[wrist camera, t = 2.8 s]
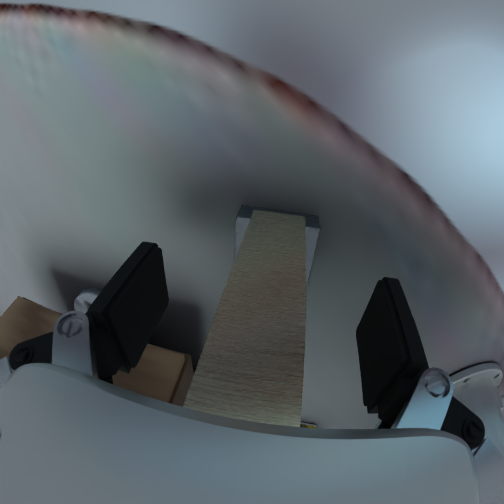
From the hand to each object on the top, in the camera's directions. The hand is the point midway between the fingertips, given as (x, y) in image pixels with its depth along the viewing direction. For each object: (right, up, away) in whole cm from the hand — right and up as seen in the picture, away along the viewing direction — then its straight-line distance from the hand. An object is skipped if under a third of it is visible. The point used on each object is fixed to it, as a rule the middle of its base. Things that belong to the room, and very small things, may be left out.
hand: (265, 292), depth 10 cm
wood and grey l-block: (0, -3, +8) cm, 8 cm away
